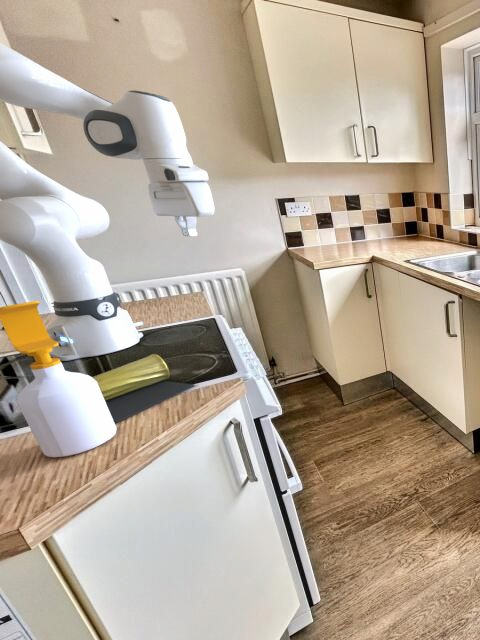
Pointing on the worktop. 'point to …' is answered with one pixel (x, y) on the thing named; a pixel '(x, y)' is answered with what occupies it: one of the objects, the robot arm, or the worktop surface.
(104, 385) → the vase
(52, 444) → the soap bottle
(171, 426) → the worktop surface
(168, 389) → the mat
